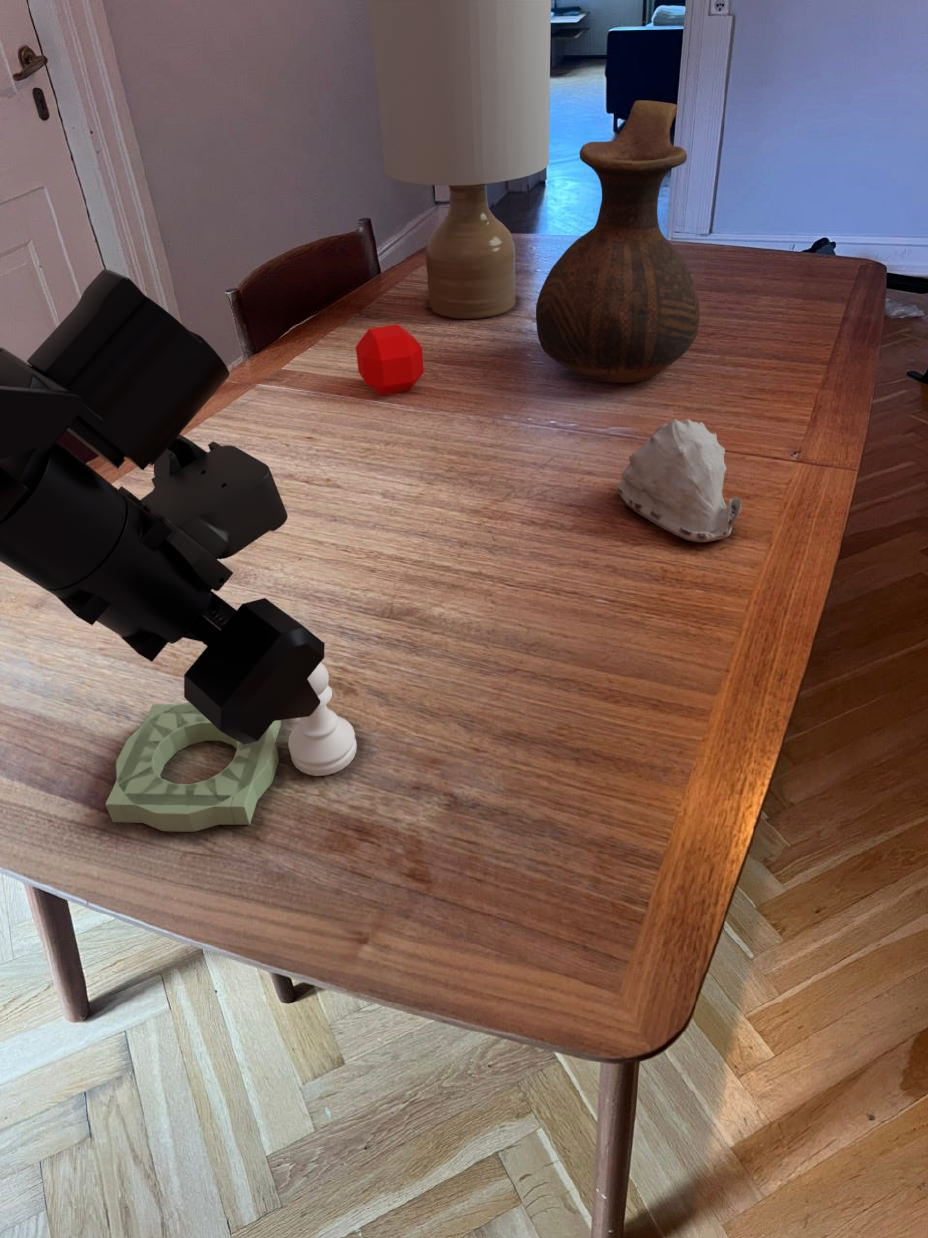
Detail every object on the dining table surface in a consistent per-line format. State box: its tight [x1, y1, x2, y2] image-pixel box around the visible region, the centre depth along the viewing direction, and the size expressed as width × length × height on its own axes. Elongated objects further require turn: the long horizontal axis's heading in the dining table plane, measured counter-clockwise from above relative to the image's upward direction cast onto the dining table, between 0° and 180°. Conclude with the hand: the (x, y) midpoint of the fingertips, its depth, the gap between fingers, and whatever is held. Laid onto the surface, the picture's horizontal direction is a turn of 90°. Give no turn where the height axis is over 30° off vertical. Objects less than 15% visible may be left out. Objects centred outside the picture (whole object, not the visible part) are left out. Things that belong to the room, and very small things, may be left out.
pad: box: [105, 701, 282, 833], centre depth 66 cm, size 11×11×2 cm
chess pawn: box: [287, 661, 358, 777], centre depth 65 cm, size 5×5×9 cm
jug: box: [535, 99, 701, 384], centre depth 112 cm, size 22×22×30 cm
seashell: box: [616, 417, 742, 543], centre depth 89 cm, size 12×14×10 cm
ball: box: [355, 323, 425, 396], centre depth 117 cm, size 8×8×8 cm
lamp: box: [368, 0, 552, 320], centre depth 129 cm, size 24×24×42 cm
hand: (269, 671), depth 54 cm, fingers open, 9 cm apart
